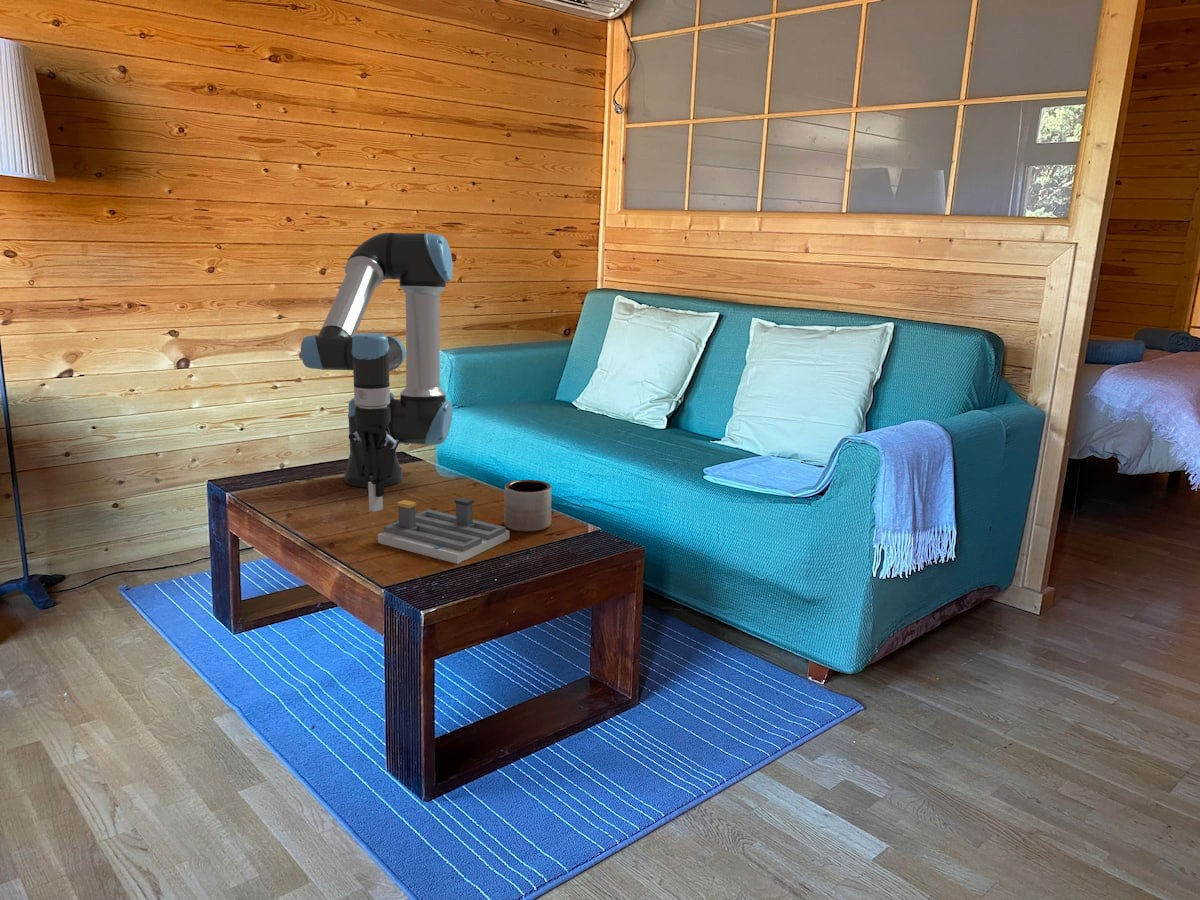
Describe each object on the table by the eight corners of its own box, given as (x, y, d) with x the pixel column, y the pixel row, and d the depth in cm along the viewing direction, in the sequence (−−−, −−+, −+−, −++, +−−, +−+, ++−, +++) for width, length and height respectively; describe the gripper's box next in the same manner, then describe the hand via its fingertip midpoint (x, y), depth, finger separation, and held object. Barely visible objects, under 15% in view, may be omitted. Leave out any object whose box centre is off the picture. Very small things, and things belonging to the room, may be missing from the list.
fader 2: (460, 524, 203) (460, 497, 201) (474, 527, 201) (474, 500, 199) (453, 526, 201) (453, 499, 199) (468, 530, 199) (467, 502, 197)
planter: (521, 515, 217) (521, 476, 215) (559, 523, 212) (560, 483, 210) (495, 527, 208) (494, 487, 205) (535, 536, 203) (535, 495, 200)
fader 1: (404, 526, 200) (403, 499, 198) (418, 530, 198) (417, 502, 196) (396, 529, 198) (395, 502, 196) (410, 533, 196) (409, 505, 194)
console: (432, 520, 211) (432, 507, 210) (509, 539, 201) (509, 525, 200) (377, 542, 196) (377, 528, 195) (457, 563, 185) (457, 549, 185)
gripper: (337, 404, 196) (342, 508, 201) (382, 411, 189) (386, 519, 195) (362, 399, 202) (366, 500, 208) (407, 406, 196) (409, 510, 201)
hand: (376, 509), depth 201 cm, fingers closed
